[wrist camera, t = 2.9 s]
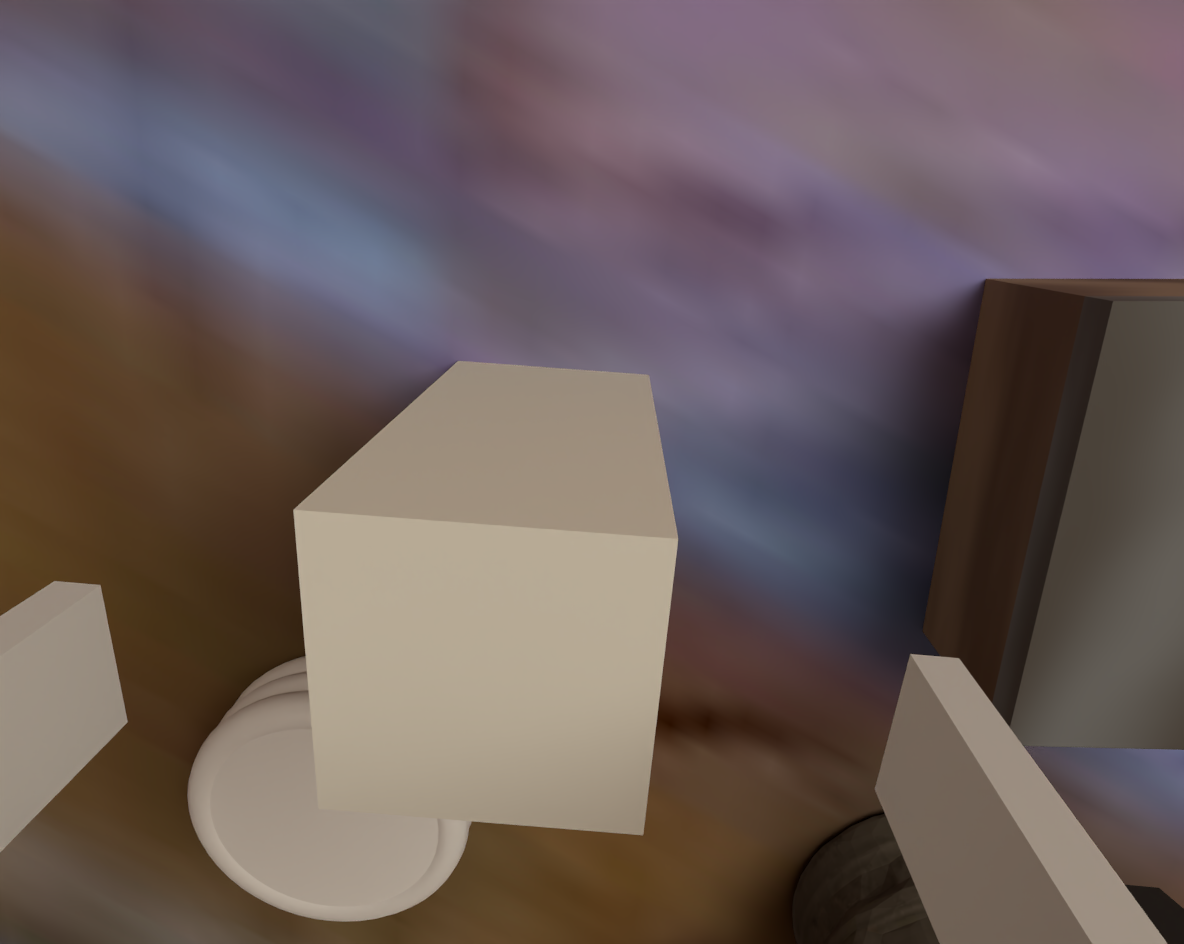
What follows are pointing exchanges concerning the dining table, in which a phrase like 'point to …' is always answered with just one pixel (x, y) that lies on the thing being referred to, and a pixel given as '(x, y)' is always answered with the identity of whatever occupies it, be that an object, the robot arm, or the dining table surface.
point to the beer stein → (860, 892)
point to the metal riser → (1070, 513)
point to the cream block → (493, 603)
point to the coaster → (305, 817)
